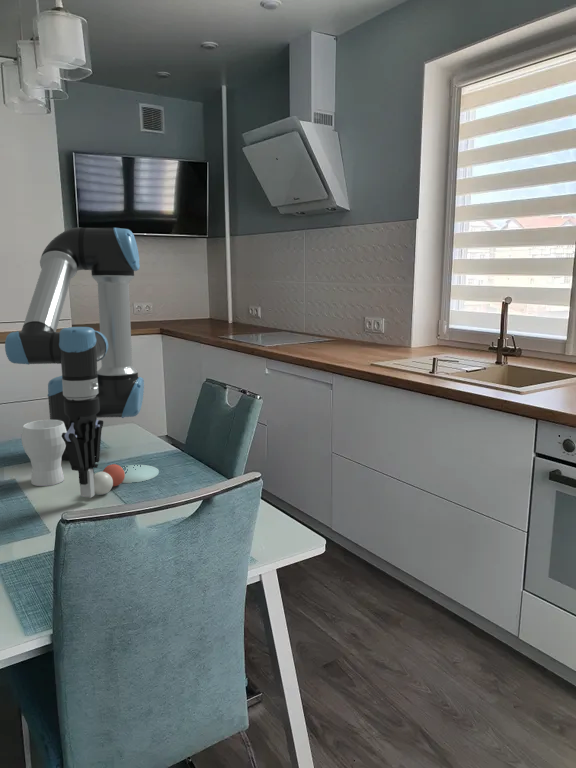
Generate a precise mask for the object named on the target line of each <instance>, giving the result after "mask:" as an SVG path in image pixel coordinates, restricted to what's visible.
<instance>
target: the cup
mask: <svg viewBox="0 0 576 768" xmlns="http://www.w3.org/2000/svg"><path fill="white" fill-rule="evenodd" d="M21 430H22V432H21V434H20V437H21V445H22V447H23V450H24V452H25V454H26V455H27V457H28V459H29V460H30V464H31V468H32V471H31V481H30V482H31V485H33V486H37V487H46V486H47V487H49V486H54V485H57V484H60V483H61V482H63V481H65V476H64V472H63V468H62V460H61V459H62V455H63V452H64V450H65V447H66V444H65V441H64V440H63V438H62V433H67V431H66V428H65V425H64V422H63V421H60V420H50V419H40V420H33V421H31V422H30V421H29V422H27V423H25V424H23V426H22V429H21Z"/></svg>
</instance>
